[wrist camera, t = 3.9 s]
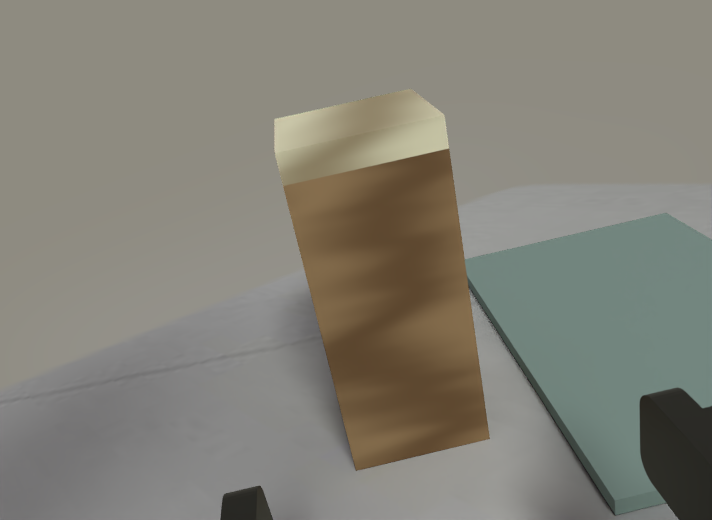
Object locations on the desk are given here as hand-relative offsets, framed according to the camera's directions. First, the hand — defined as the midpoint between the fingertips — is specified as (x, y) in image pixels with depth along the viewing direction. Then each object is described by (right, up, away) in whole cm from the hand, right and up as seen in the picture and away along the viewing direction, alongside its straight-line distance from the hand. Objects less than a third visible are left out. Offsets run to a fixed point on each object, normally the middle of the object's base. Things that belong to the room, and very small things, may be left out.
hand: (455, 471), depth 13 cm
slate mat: (+11, +2, +14) cm, 18 cm away
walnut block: (0, -2, +12) cm, 12 cm away
